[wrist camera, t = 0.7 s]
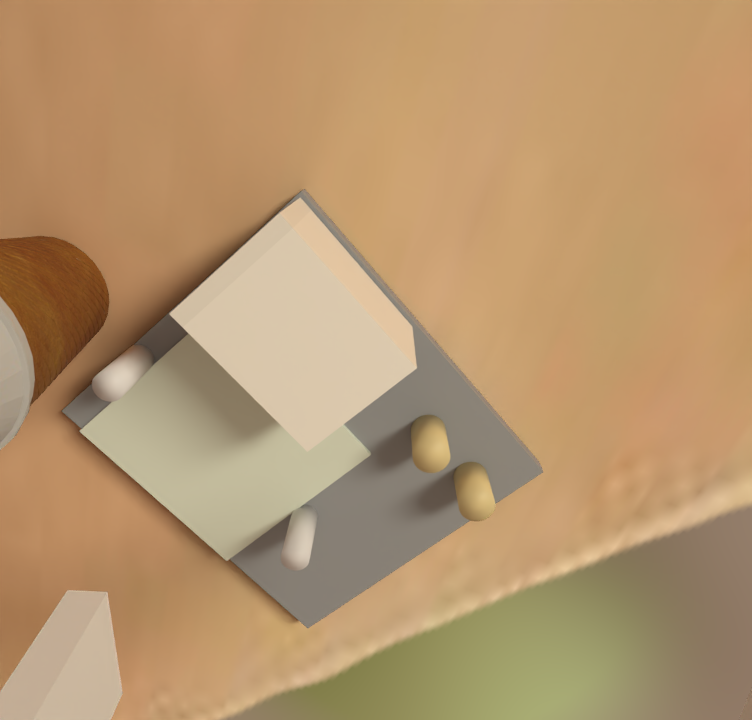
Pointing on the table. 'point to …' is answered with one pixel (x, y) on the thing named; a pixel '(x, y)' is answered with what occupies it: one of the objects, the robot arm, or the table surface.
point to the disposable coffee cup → (42, 319)
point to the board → (304, 461)
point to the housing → (301, 326)
